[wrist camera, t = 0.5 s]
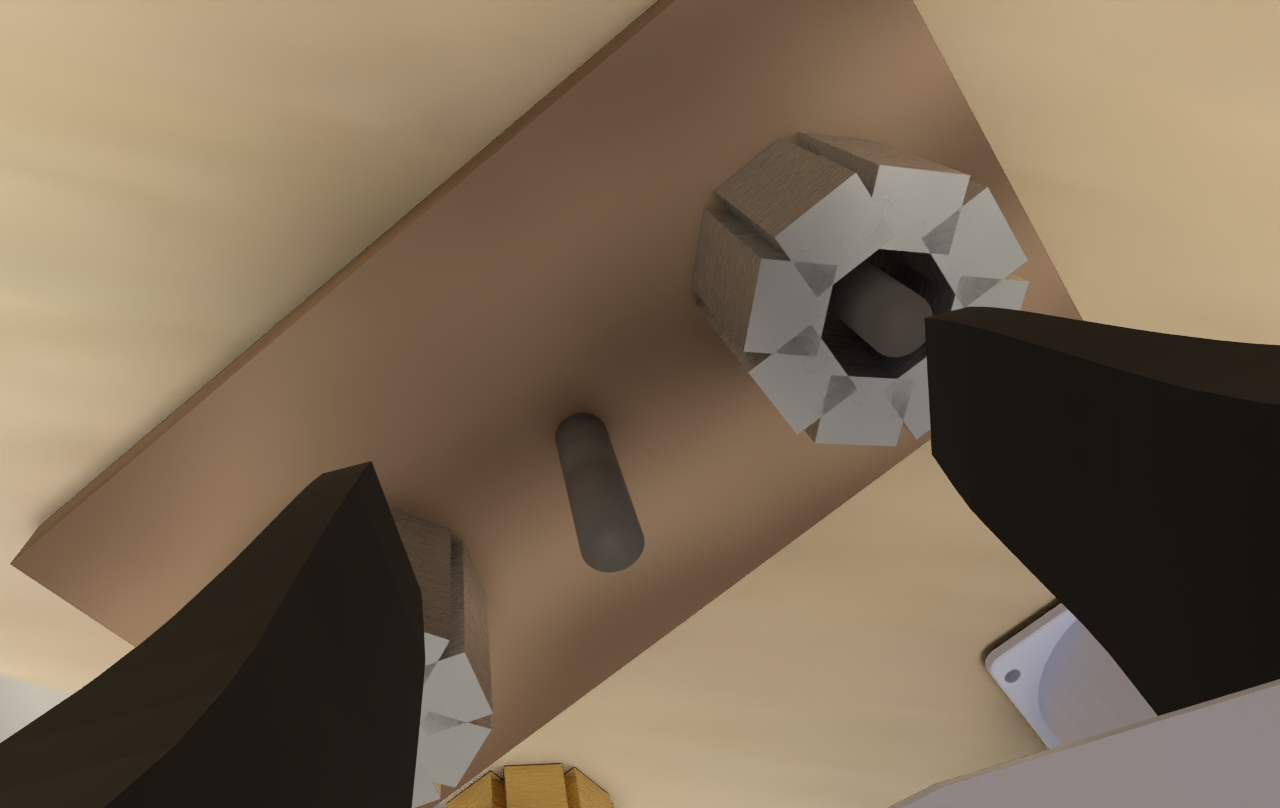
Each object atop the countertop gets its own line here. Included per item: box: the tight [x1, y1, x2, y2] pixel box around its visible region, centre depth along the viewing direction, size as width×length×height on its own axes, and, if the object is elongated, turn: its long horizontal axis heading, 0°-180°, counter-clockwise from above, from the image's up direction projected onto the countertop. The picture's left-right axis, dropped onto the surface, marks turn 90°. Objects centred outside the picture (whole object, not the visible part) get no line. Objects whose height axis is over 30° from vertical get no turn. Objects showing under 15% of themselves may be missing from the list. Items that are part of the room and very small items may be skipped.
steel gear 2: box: [690, 131, 1029, 446], centre depth 18 cm, size 5×5×4 cm
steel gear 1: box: [389, 507, 493, 808], centre depth 20 cm, size 5×5×4 cm
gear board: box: [11, 0, 1083, 808], centre depth 19 cm, size 12×22×6 cm, turn 127°
